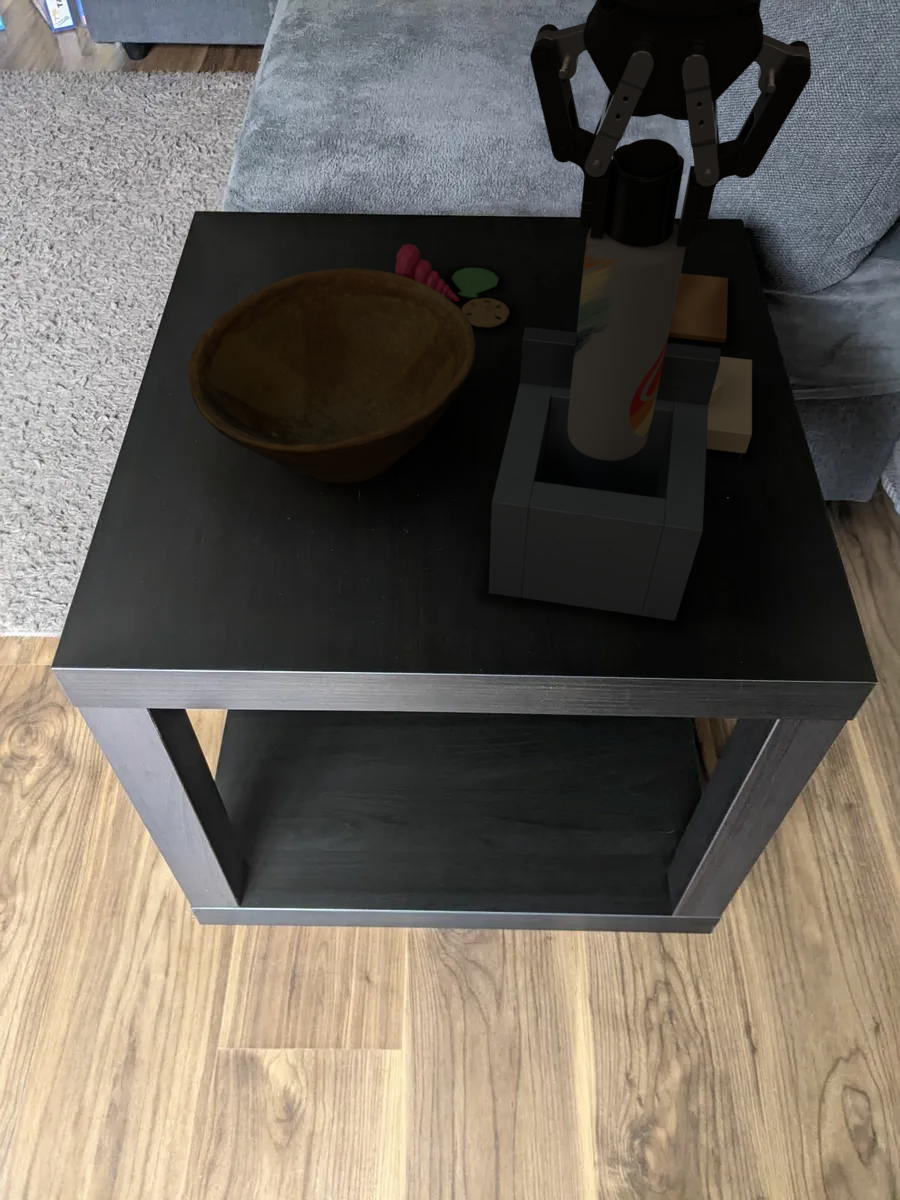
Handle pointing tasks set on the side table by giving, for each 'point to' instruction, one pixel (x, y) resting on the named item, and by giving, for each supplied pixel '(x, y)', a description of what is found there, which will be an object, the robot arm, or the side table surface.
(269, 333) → the bowl
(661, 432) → the dark grey square holder
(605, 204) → the robot arm
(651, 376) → the spray bottle
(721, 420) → the control box
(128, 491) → the side table surface
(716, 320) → the coaster
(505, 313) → the toy pieces
